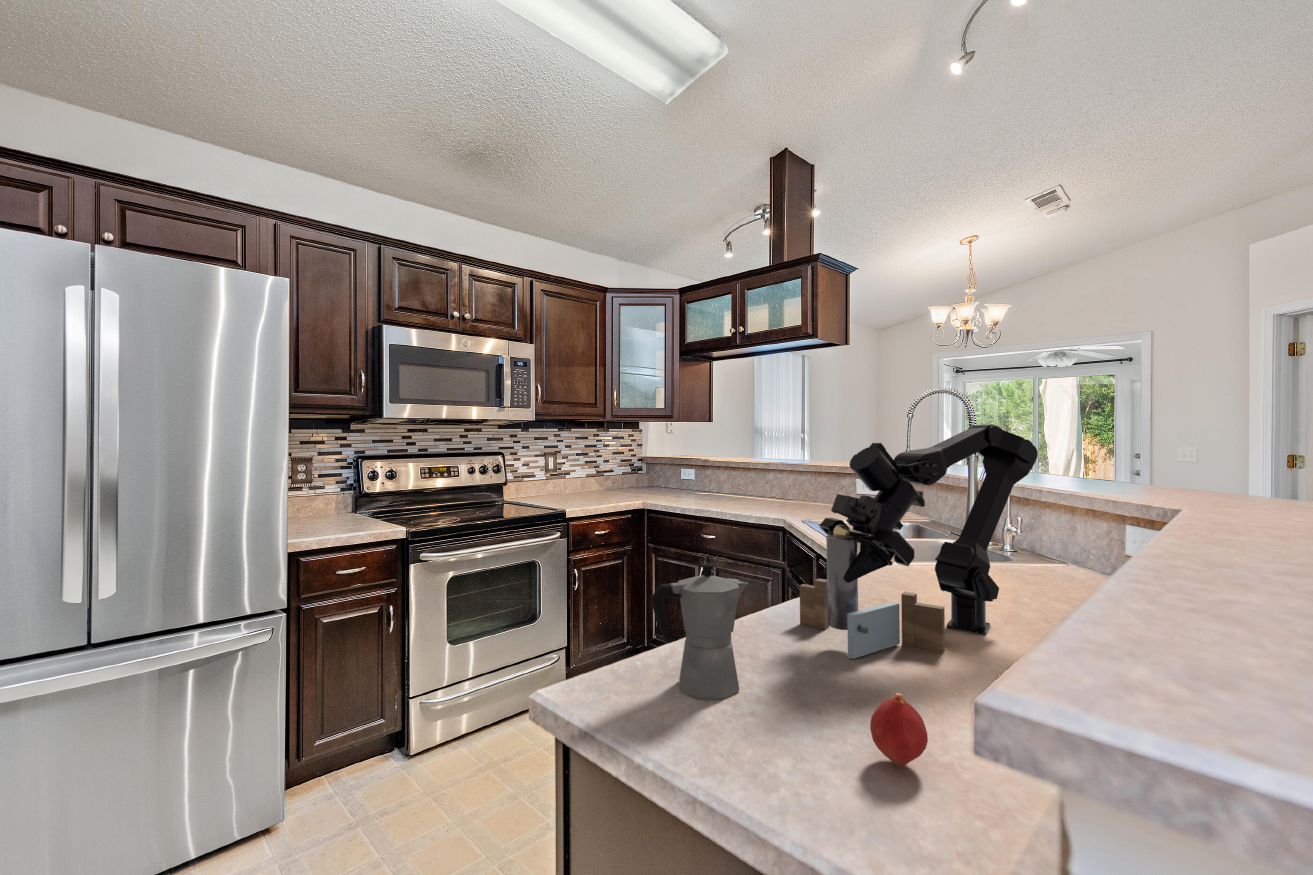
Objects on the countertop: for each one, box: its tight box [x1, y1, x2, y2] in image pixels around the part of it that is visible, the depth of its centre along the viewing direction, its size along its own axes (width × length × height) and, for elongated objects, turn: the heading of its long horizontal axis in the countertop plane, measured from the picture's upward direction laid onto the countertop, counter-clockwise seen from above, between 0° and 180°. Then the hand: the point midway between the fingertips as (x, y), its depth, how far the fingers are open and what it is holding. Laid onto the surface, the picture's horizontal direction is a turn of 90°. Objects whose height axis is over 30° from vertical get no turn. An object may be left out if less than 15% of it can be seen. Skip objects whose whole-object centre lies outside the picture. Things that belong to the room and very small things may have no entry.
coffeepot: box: [650, 562, 750, 701], centre depth 82 cm, size 15×9×18 cm, turn 110°
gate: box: [847, 601, 901, 660], centre depth 94 cm, size 12×3×7 cm, turn 122°
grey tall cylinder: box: [825, 525, 859, 631], centre depth 96 cm, size 5×5×17 cm
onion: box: [869, 692, 929, 768], centre depth 62 cm, size 6×6×8 cm
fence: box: [799, 578, 946, 655], centre depth 102 cm, size 2×25×9 cm, turn 52°
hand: (835, 577), depth 96 cm, fingers closed on grey tall cylinder, 5 cm apart
